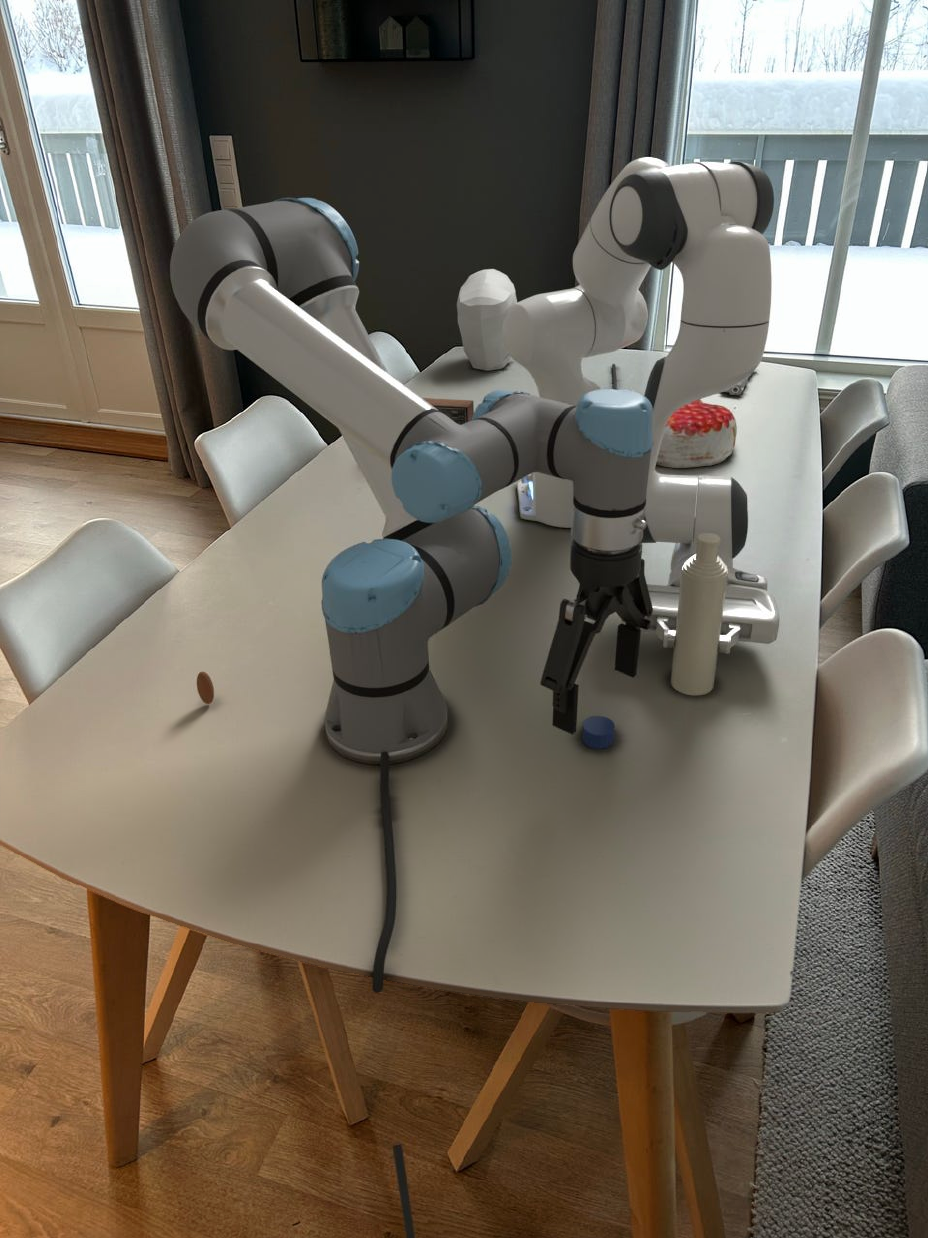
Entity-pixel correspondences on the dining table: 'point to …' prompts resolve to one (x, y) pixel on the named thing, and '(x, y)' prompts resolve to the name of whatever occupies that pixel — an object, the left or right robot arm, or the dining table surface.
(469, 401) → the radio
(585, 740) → the cap
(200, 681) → the brown disc
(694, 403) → the cake
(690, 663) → the bottle
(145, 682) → the dining table surface
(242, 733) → the dining table surface
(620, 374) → the dining table surface
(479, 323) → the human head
